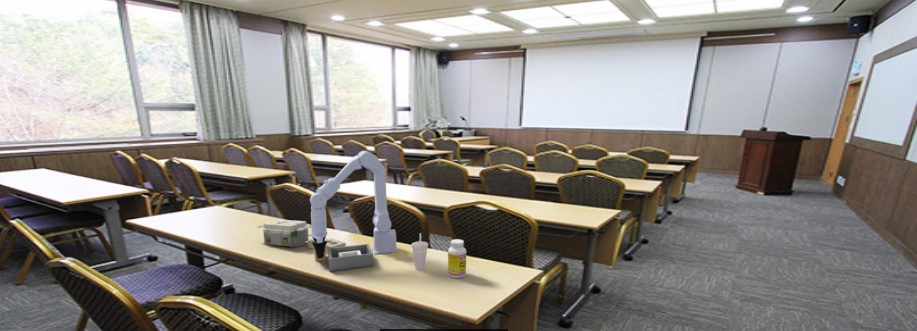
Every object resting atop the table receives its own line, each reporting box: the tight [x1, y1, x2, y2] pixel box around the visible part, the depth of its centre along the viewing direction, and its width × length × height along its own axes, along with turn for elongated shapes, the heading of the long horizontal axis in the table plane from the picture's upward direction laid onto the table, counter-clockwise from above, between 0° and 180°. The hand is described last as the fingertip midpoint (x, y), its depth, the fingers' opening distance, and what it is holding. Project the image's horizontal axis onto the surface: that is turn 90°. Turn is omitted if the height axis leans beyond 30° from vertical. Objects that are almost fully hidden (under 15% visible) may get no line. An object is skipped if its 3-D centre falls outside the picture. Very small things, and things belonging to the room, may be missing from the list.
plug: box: [314, 249, 327, 262], centre depth 154 cm, size 4×4×7 cm
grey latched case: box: [256, 219, 312, 248], centre depth 173 cm, size 12×28×10 cm, turn 65°
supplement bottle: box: [447, 238, 467, 279], centre depth 138 cm, size 7×7×13 cm
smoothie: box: [411, 232, 429, 271], centre depth 144 cm, size 6×6×14 cm
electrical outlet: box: [306, 238, 347, 255], centre depth 166 cm, size 7×4×18 cm
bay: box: [327, 243, 374, 273], centre depth 149 cm, size 16×13×5 cm
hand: (320, 254), depth 154 cm, fingers open, 7 cm apart
